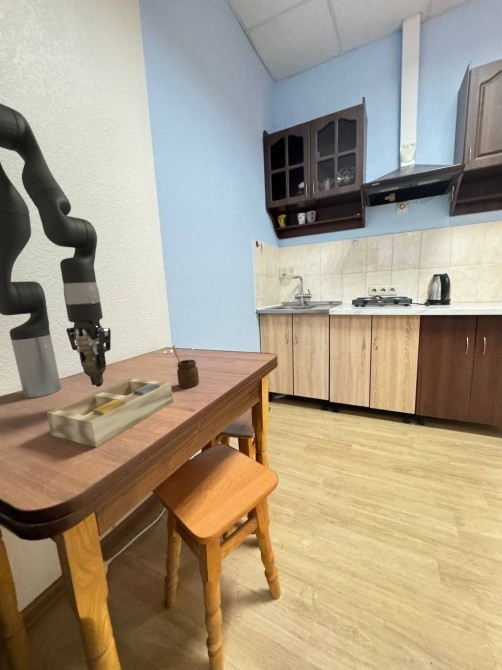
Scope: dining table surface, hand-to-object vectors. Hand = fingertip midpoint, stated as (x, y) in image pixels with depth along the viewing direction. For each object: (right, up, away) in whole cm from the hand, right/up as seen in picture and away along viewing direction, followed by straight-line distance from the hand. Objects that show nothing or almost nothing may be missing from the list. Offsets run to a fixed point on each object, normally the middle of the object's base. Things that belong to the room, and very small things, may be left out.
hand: (93, 366), depth 72 cm
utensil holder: (+23, -7, +9) cm, 25 cm away
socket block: (+11, -10, -9) cm, 17 cm away
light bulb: (0, -6, +1) cm, 6 cm away
